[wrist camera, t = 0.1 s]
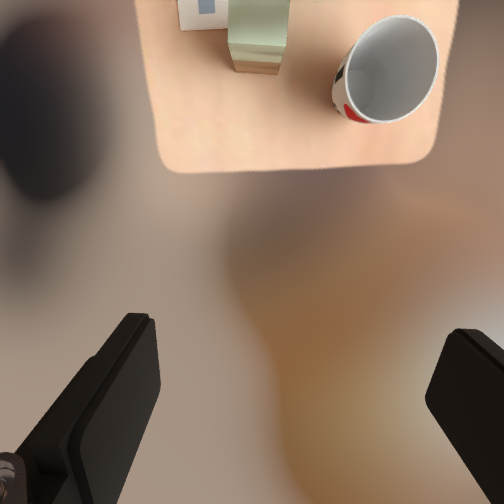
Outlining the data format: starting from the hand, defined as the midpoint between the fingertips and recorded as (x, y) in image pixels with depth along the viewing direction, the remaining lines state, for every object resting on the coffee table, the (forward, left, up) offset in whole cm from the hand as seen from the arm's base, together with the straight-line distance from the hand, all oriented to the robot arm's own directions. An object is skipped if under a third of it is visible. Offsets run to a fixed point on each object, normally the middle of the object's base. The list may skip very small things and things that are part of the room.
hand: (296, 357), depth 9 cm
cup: (-13, +10, -31) cm, 35 cm away
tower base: (-17, -2, -31) cm, 36 cm away
